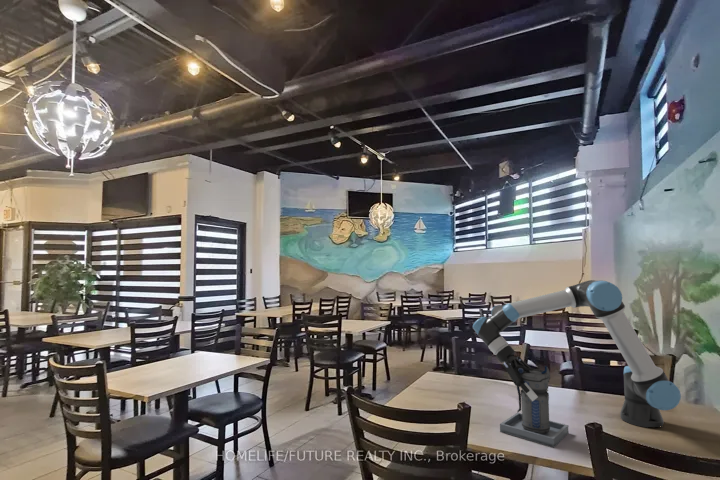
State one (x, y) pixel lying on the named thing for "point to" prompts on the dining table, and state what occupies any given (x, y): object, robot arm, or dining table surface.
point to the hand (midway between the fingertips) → (540, 395)
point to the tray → (516, 429)
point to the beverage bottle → (537, 410)
